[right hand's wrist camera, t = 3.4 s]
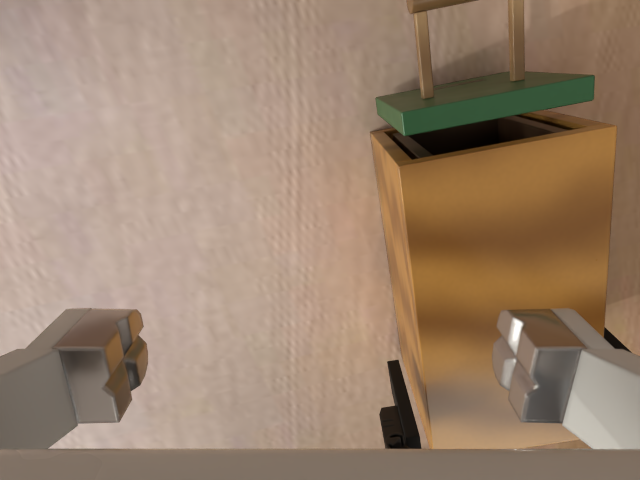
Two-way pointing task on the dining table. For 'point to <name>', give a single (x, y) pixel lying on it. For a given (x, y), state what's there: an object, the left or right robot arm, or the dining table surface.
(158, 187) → the dining table surface
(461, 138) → the drawer
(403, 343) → the open tan box
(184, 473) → the right robot arm
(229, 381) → the dining table surface
